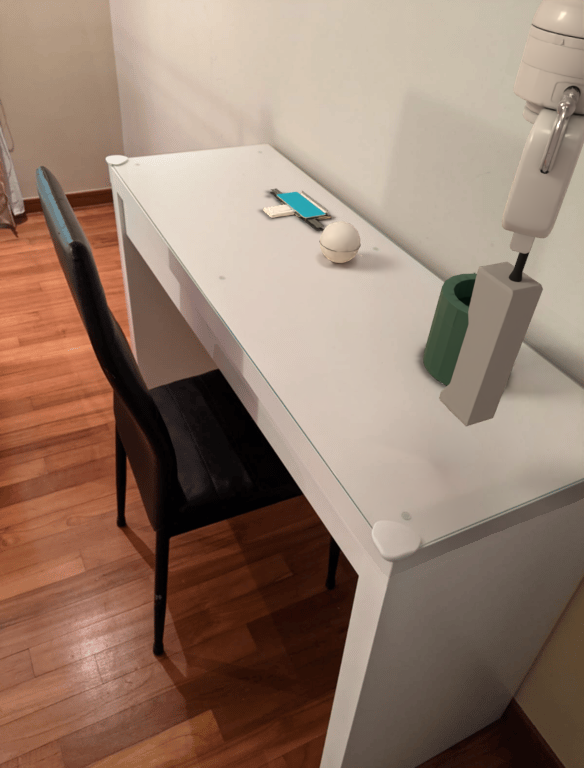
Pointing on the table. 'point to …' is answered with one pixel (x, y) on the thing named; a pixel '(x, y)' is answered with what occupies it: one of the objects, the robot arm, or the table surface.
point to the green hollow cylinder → (449, 327)
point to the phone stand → (298, 208)
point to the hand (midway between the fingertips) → (521, 244)
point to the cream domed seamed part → (340, 242)
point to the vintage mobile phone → (491, 339)
